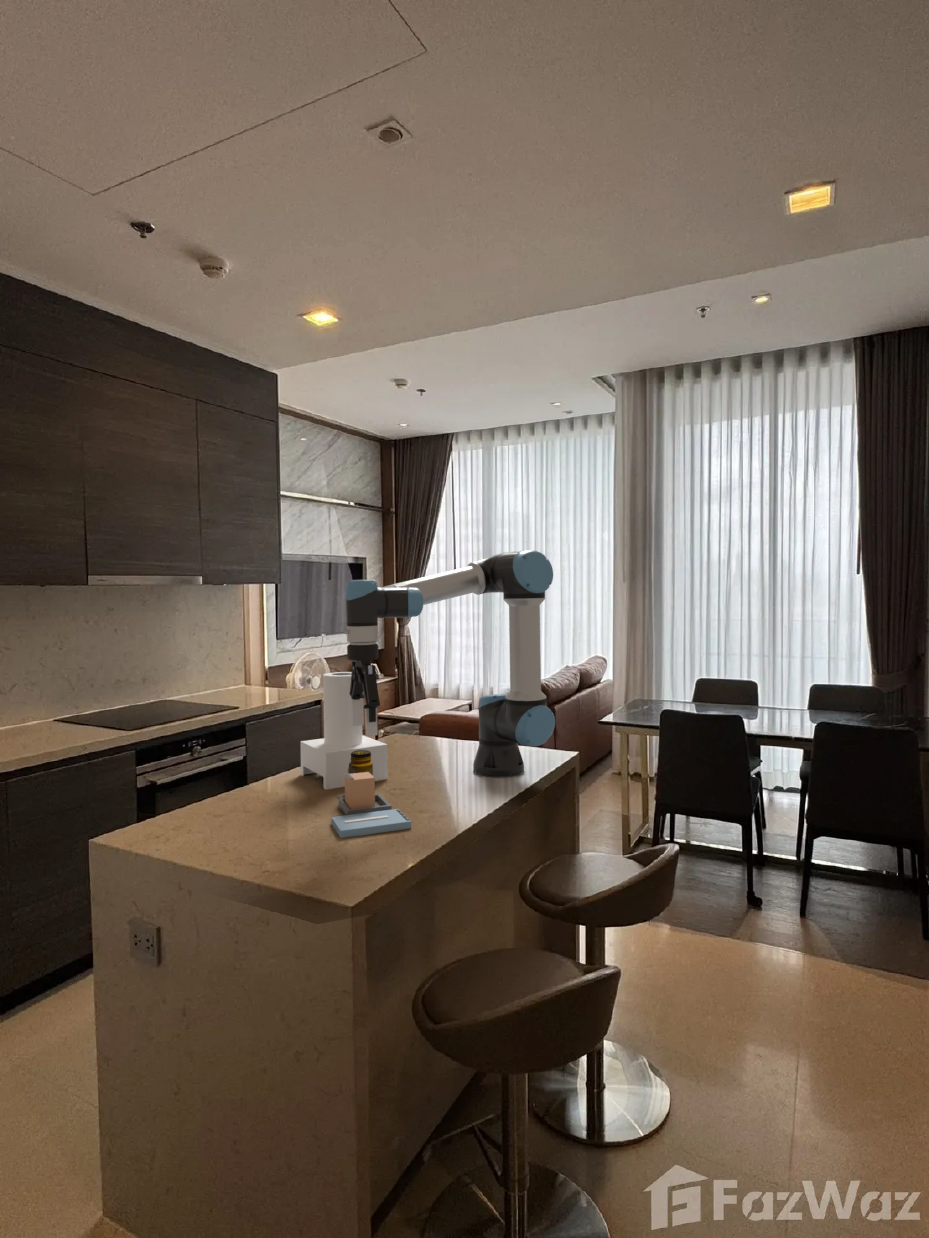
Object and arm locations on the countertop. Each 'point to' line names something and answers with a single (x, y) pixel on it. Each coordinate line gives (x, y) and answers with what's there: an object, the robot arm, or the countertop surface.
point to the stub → (359, 790)
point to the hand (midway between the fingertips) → (364, 730)
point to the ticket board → (370, 823)
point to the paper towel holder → (340, 738)
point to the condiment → (360, 763)
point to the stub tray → (379, 806)
